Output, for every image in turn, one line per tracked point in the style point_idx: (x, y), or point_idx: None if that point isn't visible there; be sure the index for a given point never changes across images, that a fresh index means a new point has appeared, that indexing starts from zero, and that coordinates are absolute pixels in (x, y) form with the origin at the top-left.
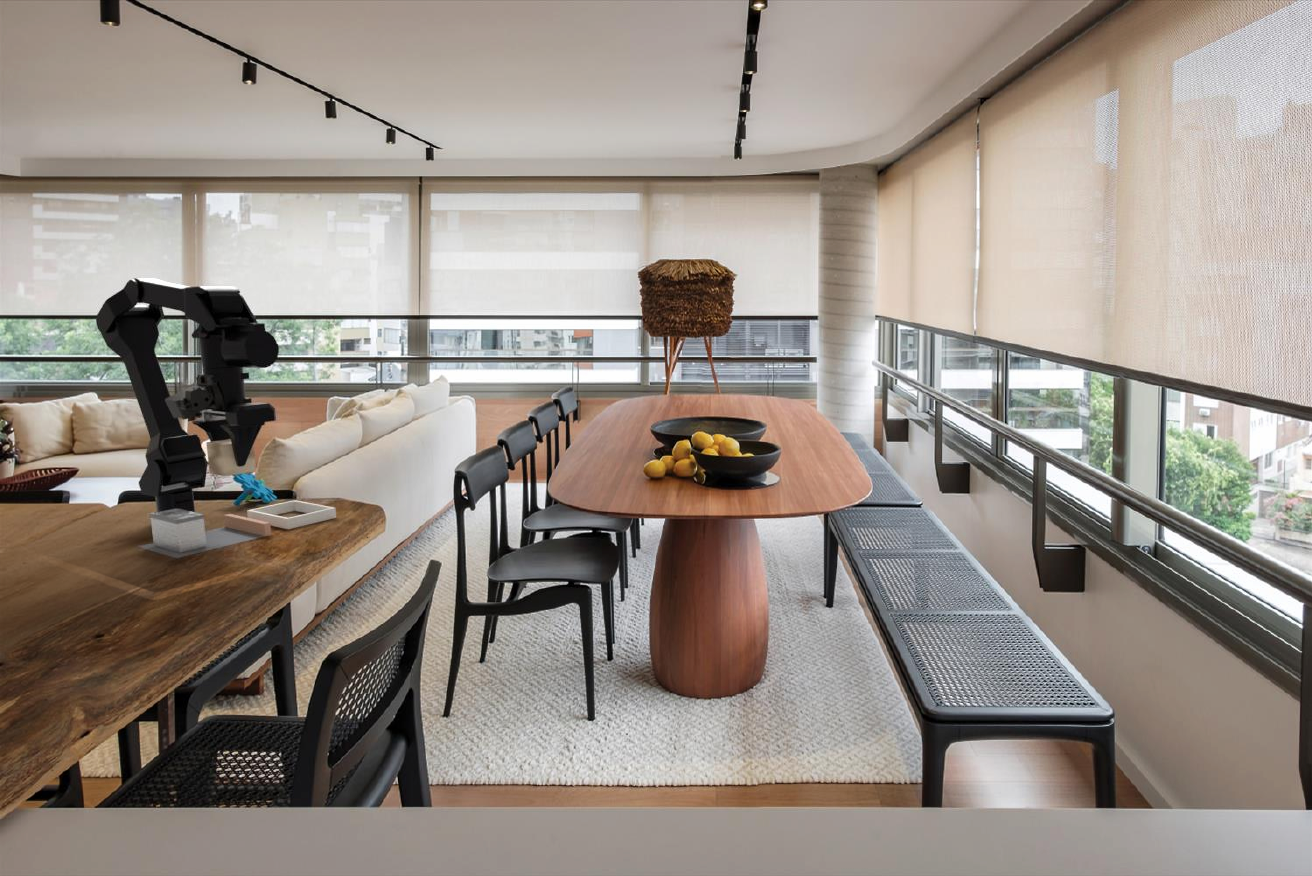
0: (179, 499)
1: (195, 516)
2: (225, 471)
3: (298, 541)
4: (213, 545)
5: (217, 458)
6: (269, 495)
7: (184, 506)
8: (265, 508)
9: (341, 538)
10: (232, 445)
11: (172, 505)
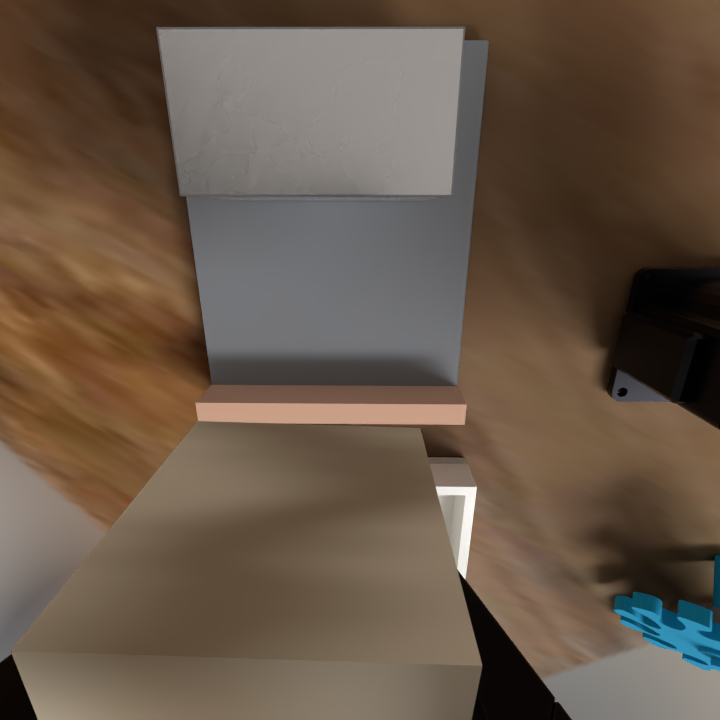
0: (712, 356)
1: (174, 149)
2: (181, 441)
3: (137, 424)
4: (236, 227)
5: (249, 504)
6: (652, 634)
7: (668, 356)
8: (460, 533)
9: (74, 495)
10: (26, 702)
11: (716, 324)
